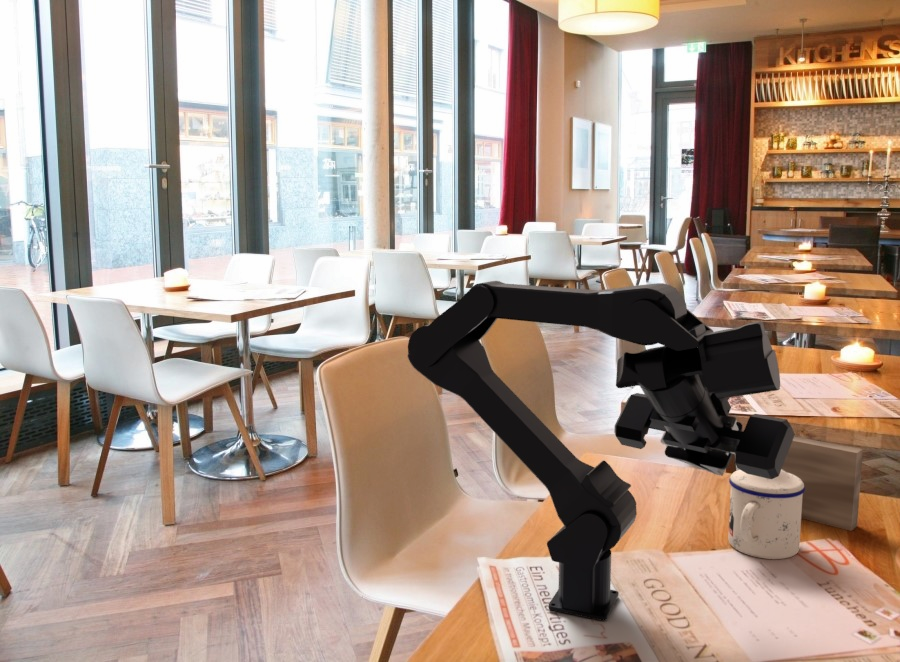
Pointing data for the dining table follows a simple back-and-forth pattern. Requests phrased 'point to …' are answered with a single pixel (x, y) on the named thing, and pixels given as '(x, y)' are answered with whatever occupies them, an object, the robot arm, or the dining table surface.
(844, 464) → the bookend
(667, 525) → the dining table surface
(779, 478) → the teacup with lid
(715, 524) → the dining table surface
